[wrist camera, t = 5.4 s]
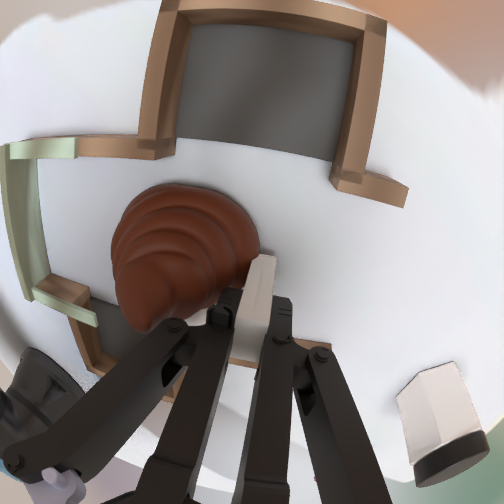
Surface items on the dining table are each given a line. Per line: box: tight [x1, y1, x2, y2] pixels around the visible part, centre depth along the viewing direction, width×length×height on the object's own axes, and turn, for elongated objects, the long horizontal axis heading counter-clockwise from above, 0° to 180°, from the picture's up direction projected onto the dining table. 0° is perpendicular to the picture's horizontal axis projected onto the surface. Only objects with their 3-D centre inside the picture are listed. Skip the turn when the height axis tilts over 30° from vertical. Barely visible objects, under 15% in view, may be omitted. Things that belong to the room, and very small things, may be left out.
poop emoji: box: [111, 184, 260, 334], centre depth 15 cm, size 10×8×9 cm
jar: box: [396, 362, 490, 488], centre depth 18 cm, size 9×8×12 cm
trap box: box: [0, 0, 409, 403], centre depth 18 cm, size 30×34×4 cm
